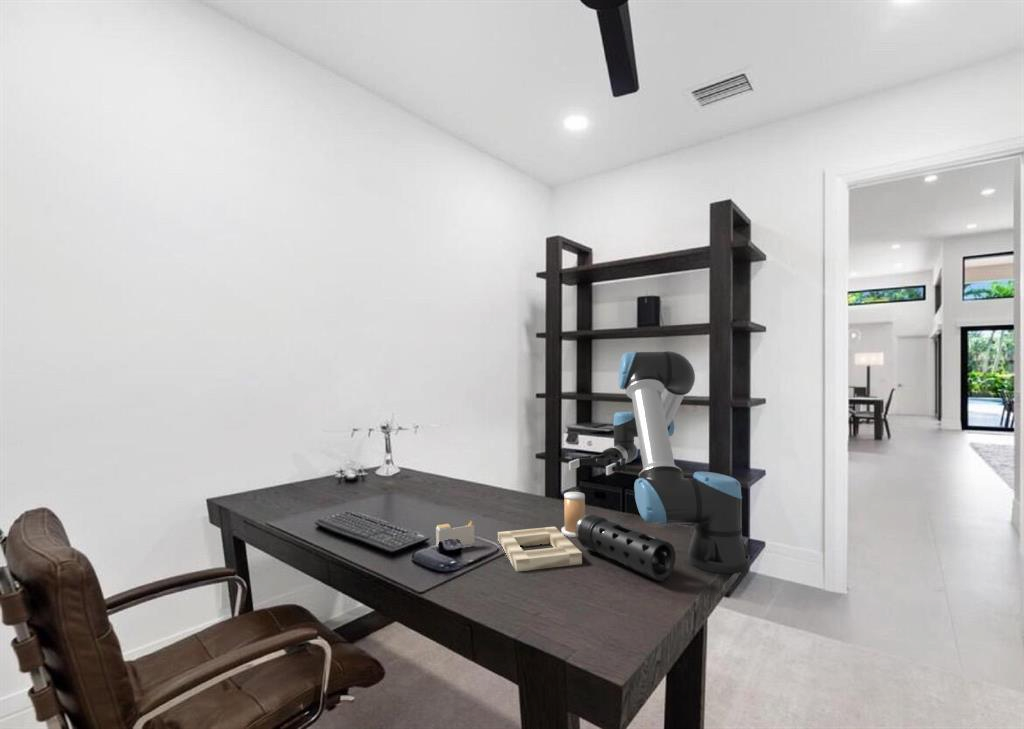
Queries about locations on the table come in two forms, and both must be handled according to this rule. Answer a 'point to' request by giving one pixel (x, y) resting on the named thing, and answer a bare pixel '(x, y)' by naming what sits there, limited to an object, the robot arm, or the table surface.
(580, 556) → the square wooden frame
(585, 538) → the muzzle brake
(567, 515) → the orange white flanged cylinder
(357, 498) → the table surface
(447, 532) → the model
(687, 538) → the table surface
